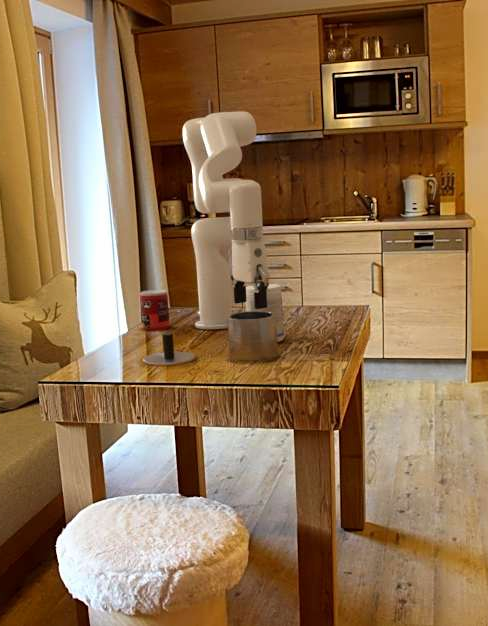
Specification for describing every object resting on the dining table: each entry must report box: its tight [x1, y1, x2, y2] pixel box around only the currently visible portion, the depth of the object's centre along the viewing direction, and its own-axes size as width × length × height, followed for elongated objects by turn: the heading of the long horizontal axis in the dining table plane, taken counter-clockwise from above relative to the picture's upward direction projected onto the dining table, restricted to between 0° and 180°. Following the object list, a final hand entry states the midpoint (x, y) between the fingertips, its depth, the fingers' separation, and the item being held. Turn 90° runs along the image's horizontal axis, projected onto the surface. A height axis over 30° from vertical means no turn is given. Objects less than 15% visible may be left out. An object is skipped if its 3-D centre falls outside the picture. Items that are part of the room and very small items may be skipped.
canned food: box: [139, 289, 170, 332], centre depth 245 cm, size 8×8×11 cm
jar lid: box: [142, 332, 196, 367], centre depth 202 cm, size 13×13×7 cm
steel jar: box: [227, 310, 279, 362], centre depth 200 cm, size 12×12×10 cm
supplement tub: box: [245, 283, 285, 343], centre depth 218 cm, size 10×10×15 cm
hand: (250, 305), depth 200 cm, fingers open, 9 cm apart
